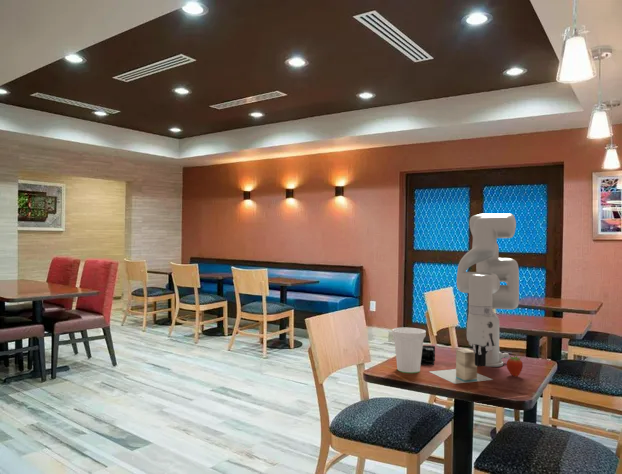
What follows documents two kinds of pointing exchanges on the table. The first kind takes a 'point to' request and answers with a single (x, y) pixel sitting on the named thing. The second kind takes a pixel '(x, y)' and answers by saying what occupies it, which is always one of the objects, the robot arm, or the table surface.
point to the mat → (451, 376)
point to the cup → (408, 348)
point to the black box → (428, 355)
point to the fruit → (514, 366)
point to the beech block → (466, 365)
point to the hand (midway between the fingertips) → (480, 365)
